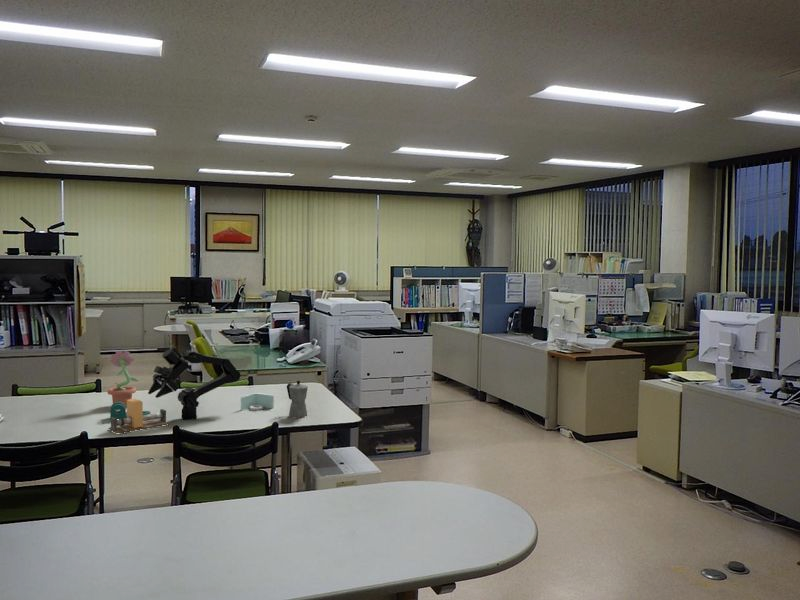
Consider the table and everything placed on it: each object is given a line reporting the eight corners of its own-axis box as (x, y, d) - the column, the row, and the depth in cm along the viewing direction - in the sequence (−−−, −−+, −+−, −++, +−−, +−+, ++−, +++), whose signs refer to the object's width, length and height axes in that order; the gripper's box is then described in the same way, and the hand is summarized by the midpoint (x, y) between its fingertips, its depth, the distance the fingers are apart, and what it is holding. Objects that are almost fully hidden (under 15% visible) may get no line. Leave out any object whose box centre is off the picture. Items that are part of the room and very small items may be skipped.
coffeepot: (313, 416, 318) (314, 381, 317) (299, 419, 311) (299, 384, 309) (294, 410, 328) (294, 376, 327) (279, 414, 321) (280, 379, 320)
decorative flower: (139, 402, 338) (139, 347, 336) (137, 409, 325) (136, 351, 323) (109, 404, 334) (108, 348, 332) (105, 410, 321) (105, 352, 318)
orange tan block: (135, 422, 295) (135, 398, 294) (142, 426, 289) (142, 401, 288) (127, 424, 292) (126, 399, 291) (134, 428, 286) (133, 402, 285)
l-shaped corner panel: (240, 411, 327) (240, 397, 327) (255, 406, 338) (255, 392, 337) (259, 414, 322) (259, 399, 322) (273, 409, 333) (273, 395, 332)
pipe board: (159, 420, 304) (159, 407, 304) (169, 425, 297) (169, 411, 297) (108, 430, 287) (108, 416, 287) (116, 434, 280) (116, 420, 280)
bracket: (110, 421, 302) (110, 405, 301) (110, 418, 308) (110, 402, 308) (150, 418, 309) (150, 402, 309) (150, 414, 315) (149, 399, 315)
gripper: (157, 357, 306) (133, 380, 299) (173, 362, 293) (148, 387, 286) (172, 372, 312) (149, 396, 305) (188, 378, 298) (164, 403, 291)
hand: (152, 395), depth 296 cm, fingers open, 9 cm apart
